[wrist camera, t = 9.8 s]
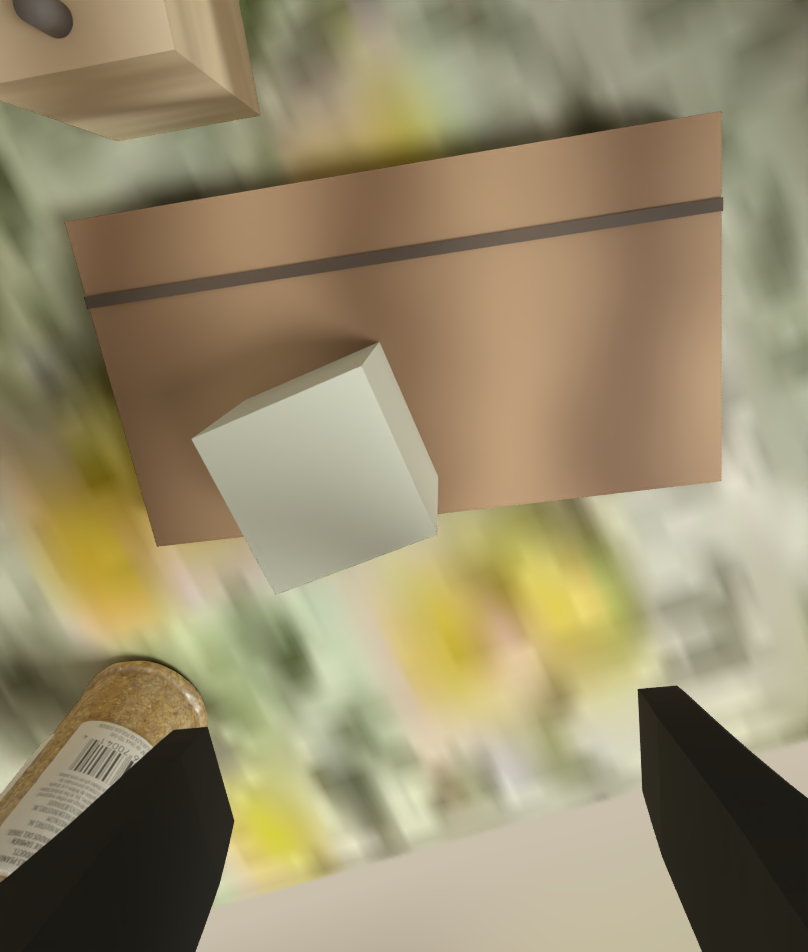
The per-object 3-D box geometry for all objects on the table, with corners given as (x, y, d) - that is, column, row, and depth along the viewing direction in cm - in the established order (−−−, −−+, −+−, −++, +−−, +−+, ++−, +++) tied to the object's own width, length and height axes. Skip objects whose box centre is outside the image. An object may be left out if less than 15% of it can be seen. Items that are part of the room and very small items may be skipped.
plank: (690, 127, 17) (723, 110, 15) (694, 459, 20) (722, 482, 18) (103, 225, 19) (62, 221, 17) (182, 520, 21) (155, 547, 19)
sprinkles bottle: (62, 689, 24) (-379, 1193, 11) (160, 633, 23) (-199, 1114, 10) (142, 779, 25) (-175, 1333, 12) (238, 729, 24) (5, 1274, 11)
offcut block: (379, 341, 17) (361, 365, 13) (438, 477, 18) (436, 534, 14) (244, 400, 18) (191, 438, 14) (308, 527, 19) (275, 595, 15)
